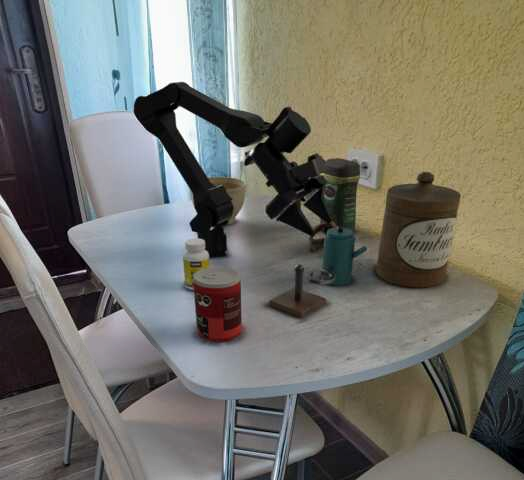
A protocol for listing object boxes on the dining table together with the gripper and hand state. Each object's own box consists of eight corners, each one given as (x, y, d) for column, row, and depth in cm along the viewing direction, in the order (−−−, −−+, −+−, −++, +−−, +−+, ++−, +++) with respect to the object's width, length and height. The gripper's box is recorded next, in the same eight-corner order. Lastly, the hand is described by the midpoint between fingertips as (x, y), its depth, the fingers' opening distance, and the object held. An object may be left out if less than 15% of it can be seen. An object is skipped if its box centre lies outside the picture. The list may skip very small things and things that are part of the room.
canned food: (197, 323, 93) (193, 267, 87) (240, 321, 94) (239, 265, 88) (196, 344, 86) (191, 285, 81) (242, 342, 87) (241, 283, 81)
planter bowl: (245, 230, 139) (245, 190, 133) (187, 230, 139) (184, 189, 133) (248, 213, 152) (247, 176, 147) (194, 213, 153) (192, 176, 147)
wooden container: (401, 292, 104) (418, 183, 93) (363, 267, 116) (374, 167, 105) (459, 282, 109) (482, 177, 98) (417, 258, 121) (433, 162, 109)
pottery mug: (354, 260, 121) (341, 233, 116) (317, 273, 125) (303, 248, 119) (351, 232, 129) (339, 206, 124) (317, 245, 133) (304, 221, 128)
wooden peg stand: (294, 292, 104) (295, 254, 100) (326, 303, 100) (329, 263, 95) (269, 305, 99) (269, 265, 95) (301, 318, 95) (303, 276, 90)
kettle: (299, 296, 103) (301, 240, 96) (328, 271, 114) (332, 220, 108) (341, 307, 99) (347, 249, 93) (367, 280, 110) (374, 227, 104)
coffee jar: (359, 231, 138) (367, 160, 128) (338, 237, 134) (344, 164, 124) (336, 223, 144) (341, 154, 135) (314, 228, 141) (318, 158, 131)
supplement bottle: (190, 293, 104) (186, 247, 99) (181, 283, 108) (177, 239, 103) (214, 288, 106) (212, 243, 101) (205, 278, 110) (202, 235, 105)
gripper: (279, 148, 93) (331, 216, 94) (321, 134, 107) (365, 194, 108) (244, 187, 100) (292, 250, 101) (287, 169, 114) (329, 225, 115)
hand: (321, 228), depth 106 cm, fingers open, 9 cm apart
